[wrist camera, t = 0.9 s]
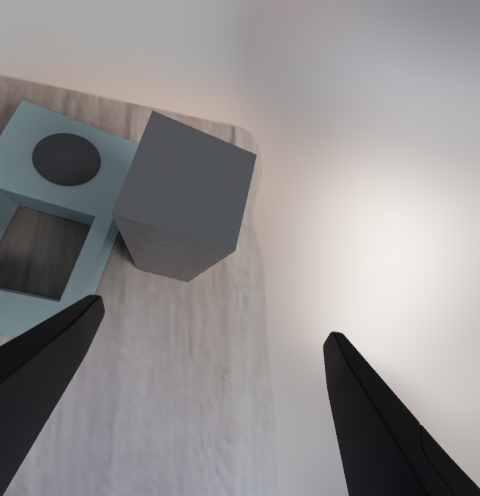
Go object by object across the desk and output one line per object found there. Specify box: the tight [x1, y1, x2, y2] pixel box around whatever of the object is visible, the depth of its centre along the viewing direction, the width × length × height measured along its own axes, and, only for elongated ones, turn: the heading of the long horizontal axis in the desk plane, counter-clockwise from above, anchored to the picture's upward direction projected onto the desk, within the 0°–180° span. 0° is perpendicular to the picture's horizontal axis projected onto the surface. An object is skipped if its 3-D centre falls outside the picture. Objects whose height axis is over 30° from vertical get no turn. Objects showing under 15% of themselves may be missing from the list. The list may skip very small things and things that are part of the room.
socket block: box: [0, 100, 139, 337], centre depth 16 cm, size 14×8×3 cm, turn 167°
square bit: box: [111, 111, 257, 282], centre depth 14 cm, size 4×4×12 cm
